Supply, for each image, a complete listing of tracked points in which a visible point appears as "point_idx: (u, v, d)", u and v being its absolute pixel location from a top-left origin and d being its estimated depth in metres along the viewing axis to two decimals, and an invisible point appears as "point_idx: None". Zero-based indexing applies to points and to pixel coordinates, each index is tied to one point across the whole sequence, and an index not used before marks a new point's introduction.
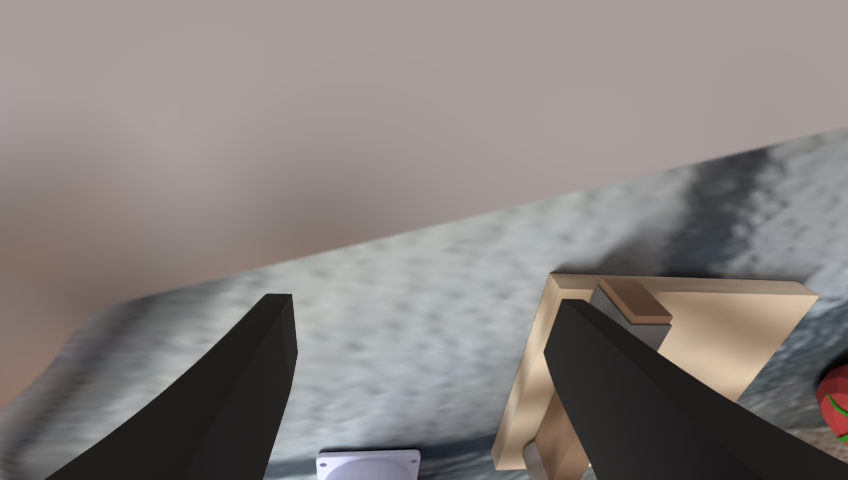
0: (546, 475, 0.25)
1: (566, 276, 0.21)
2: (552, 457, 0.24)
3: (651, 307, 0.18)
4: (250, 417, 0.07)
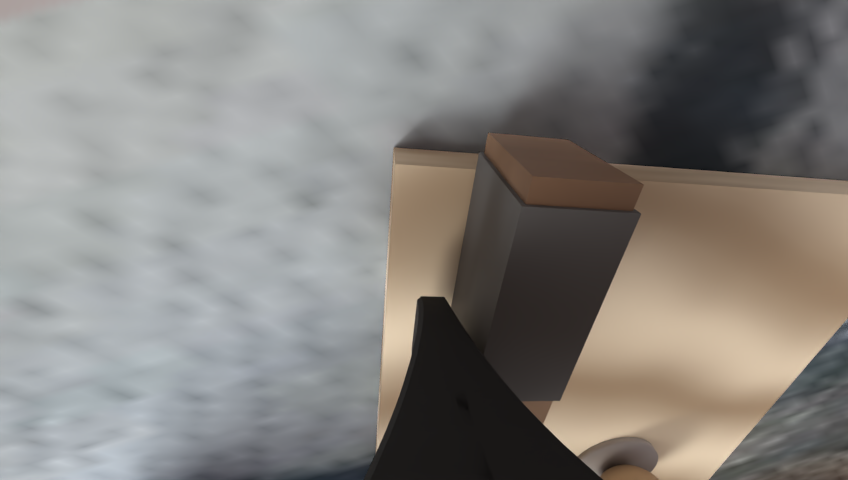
0: None
1: (426, 152, 0.10)
2: None
3: (587, 169, 0.07)
4: None
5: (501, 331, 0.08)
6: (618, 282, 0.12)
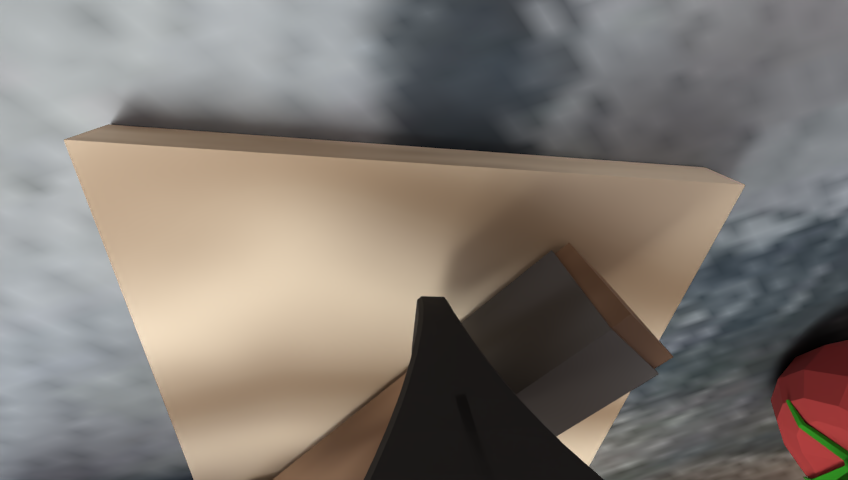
0: None
1: (139, 129, 0.09)
2: None
3: (641, 322, 0.09)
4: None
5: None
6: (389, 275, 0.11)
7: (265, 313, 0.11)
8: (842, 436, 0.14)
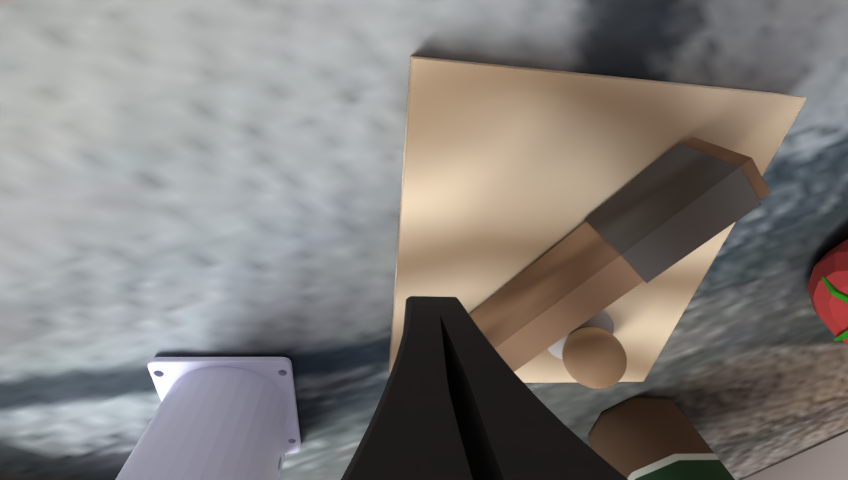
0: None
1: (432, 58, 0.15)
2: None
3: None
4: None
5: (673, 222, 0.14)
6: (570, 160, 0.16)
7: (485, 187, 0.16)
8: None
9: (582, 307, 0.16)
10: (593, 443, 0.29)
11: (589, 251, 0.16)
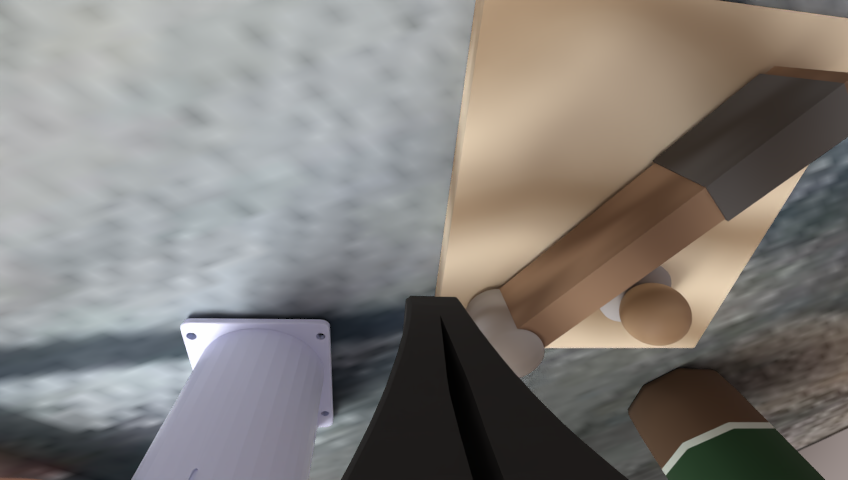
0: (513, 319, 0.17)
1: None
2: (540, 294, 0.17)
3: None
4: None
5: (765, 148, 0.13)
6: (644, 92, 0.15)
7: (552, 123, 0.15)
8: None
9: (657, 249, 0.15)
10: (635, 418, 0.28)
11: (663, 189, 0.15)
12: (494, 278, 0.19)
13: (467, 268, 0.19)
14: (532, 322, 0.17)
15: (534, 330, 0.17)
